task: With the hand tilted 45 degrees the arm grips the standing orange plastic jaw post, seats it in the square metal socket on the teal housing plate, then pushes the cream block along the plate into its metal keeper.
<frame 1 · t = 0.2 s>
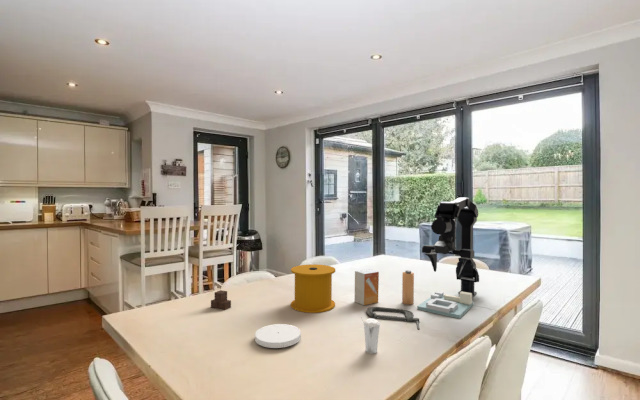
hand: (446, 273, 131), 14 cm above the table, tool pointing down, fingers open, 9 cm apart
milkshake: (370, 352, 95), on the table
stack of crates: (222, 308, 133), on the table
housing: (445, 306, 134), on the table
cream block: (457, 296, 137), point 3 cm above the table, slide at 0.0 cm
small box: (366, 302, 140), on the table
c clamp: (392, 319, 123), on the table
jaw post: (407, 302, 139), on the table
plastic lid: (278, 341, 103), on the table
spool: (313, 305, 135), on the table
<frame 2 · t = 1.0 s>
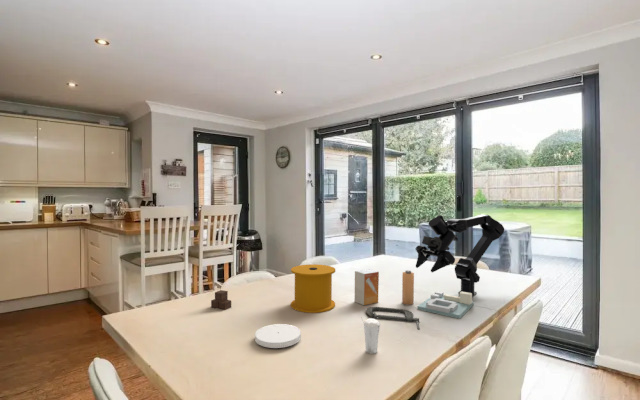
hand: (423, 269, 142), 13 cm above the table, tool tilted 45°, fingers open, 9 cm apart
nothing on the table moved.
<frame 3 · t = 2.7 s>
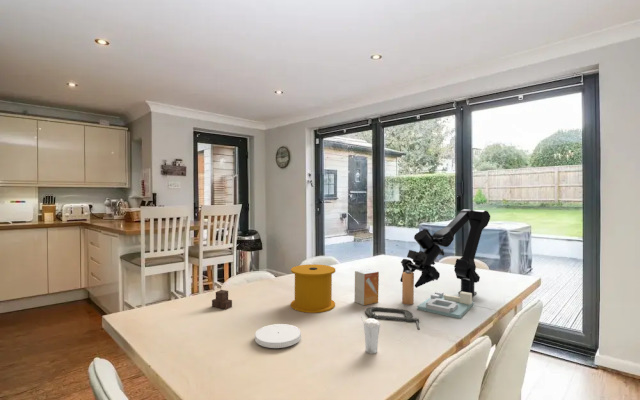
hand: (407, 284, 139), 8 cm above the table, tool tilted 45°, fingers open, 9 cm apart
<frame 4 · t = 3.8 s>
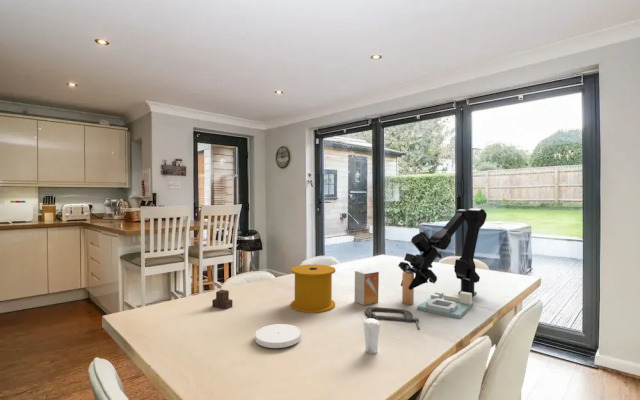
hand: (405, 287, 138), 7 cm above the table, tool tilted 45°, fingers closed on jaw post, 5 cm apart
jaw post: (407, 302, 139), on the table, touching gripper
everything else where it was.
when the fingers open (9 cm above the table, at t = 7.4 s): jaw post drops 2 cm, resting on housing.
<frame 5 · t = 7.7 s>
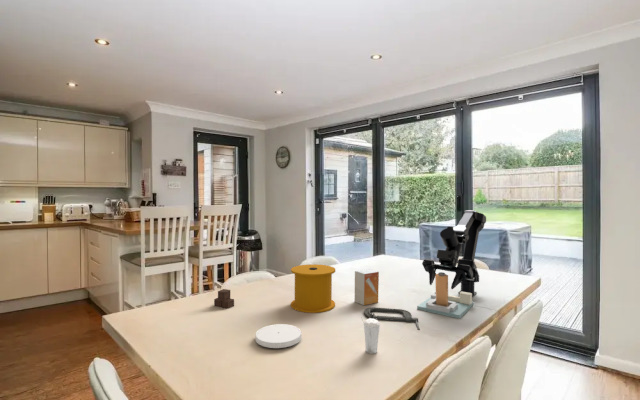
hand: (440, 286, 129), 10 cm above the table, tool tilted 45°, fingers open, 8 cm apart
jaw post: (442, 306, 130), point 1 cm above the table, touching housing
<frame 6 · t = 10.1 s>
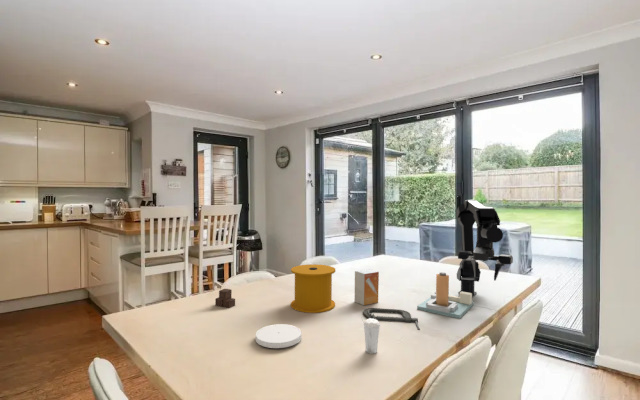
hand: (484, 279, 131), 12 cm above the table, tool pointing down, fingers open, 7 cm apart
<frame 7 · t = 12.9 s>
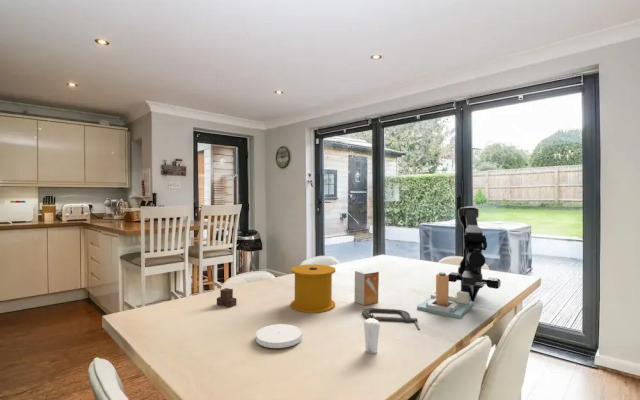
hand: (473, 301, 134), 2 cm above the table, tool pointing down, fingers closed
cream block: (454, 296, 138), point 3 cm above the table, slide at 1.0 cm, touching gripper
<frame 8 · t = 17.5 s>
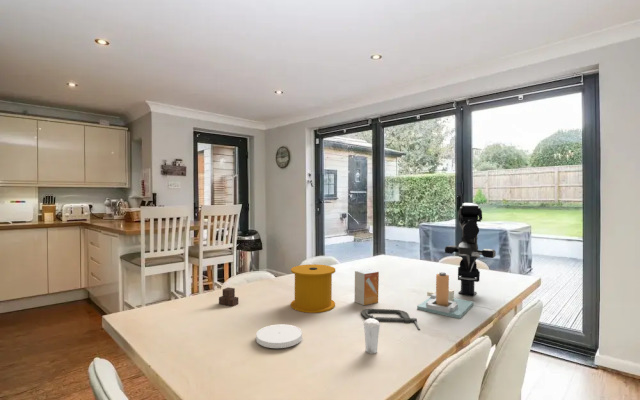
hand: (469, 272, 139), 13 cm above the table, tool pointing down, fingers closed
stack of crates: (230, 305, 137), on the table
cream block: (440, 293, 142), point 3 cm above the table, slide at 7.0 cm
at the end: jaw post 0.0 cm from the target spot on the housing, point 1.2 cm above the housing's base; jaw post tilted 1°; cream block slide at 7.0 cm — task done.
